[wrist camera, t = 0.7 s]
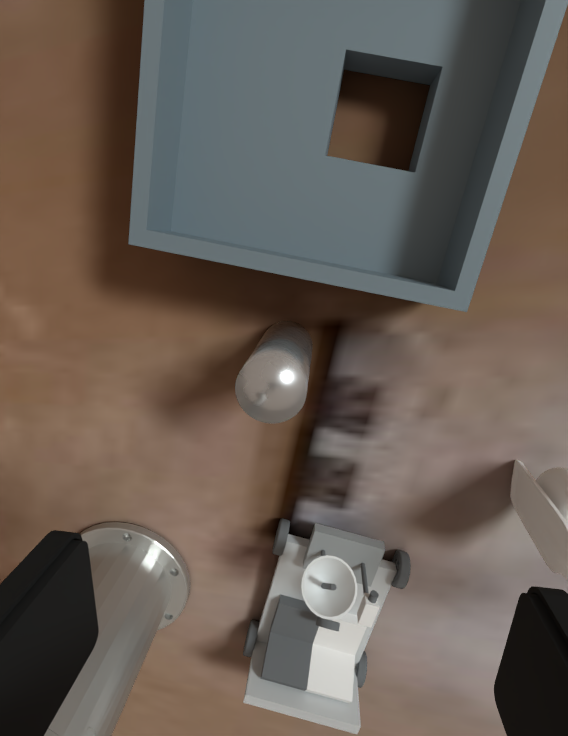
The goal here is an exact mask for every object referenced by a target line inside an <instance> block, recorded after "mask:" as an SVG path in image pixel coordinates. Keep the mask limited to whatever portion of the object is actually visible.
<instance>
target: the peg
mask: <svg viewBox="0 0 568 736" xmlns="http://www.w3.org/2000/svg"><path fill="white" fill-rule="evenodd" d="M311 355H312V340H311V337H310V335H309V333H308V332H307V330H306V329H305V328H304V327H303V326H301V325H300V324H298V323H295V322H292V321H281V322H278V323H275V324H274V325H272V326H271V327H269V328H268V329H267V331H266V332H265V334H264V335H263V337H262V338H261V340H260V341H259V343H258V344H257V346H256V347H255V349H254V351H253V352H252V354H251V355H250V357H249V358H248V360H247V361H246V363H245V364H244V366H243V367H242V369H241V370H240V372H239V374H238V376H237V379H236V383H235V393H236V397H237V400H238V402H239V404H240V406H241V408H242V409H243V410H244V411H245V412H246V413H247V414H248V415H249V416H251V417H252V418H254V419H256V420H258V421H261V422H264V423H280V422H284V421H287V420H289V419H291V418H292V417H294V416H295V415H296V414H297V413H298V412H299V411H300V410H301V408H302V407H303V405H304V402H305V399H306V394H307V386H308V378H309V370H310V363H311Z"/></svg>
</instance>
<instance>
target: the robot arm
mask: <svg viewBox="0 0 568 736" xmlns="http://www.w3.org/2000/svg"><path fill="white" fill-rule="evenodd" d="M189 591H190V577H189V573H188V570H187V567H186V565H185V563H184V561H183V559H182V557H181V556H180V555H179V553H178V552H177V551H176V550H175V548H174V547H173V546H172V545H171V544H169V543H168V542H167V541H166V540H165V539H164V538H162V537H161V536H159V535H157V534H156V533H154V532H153V531H150V530H148V529H146V528H143V527H141V526H137V525H134V524H130V523H122V522H108V523H102V524H98V525H94V526H92V527H90V528H88V529H86V530H84V531H83V532H81V533H80V534H79V533H72V532H64V531H55V530H54V531H51V532H50V533H48V534H47V535H46V536H45V537H44V538H43V539H42V540H41V542H40V543H39V544H38V545H37V546H36V547H35V548H34V549H33V550H32V551H31V552H30V553H29V554H28V555H27V556H26V557H25V559H24V560H23V561H22V562H21V563H20V564H19V565H18V566H17V567H16V568H15V569H14V570H13V571H12V572H11V573H10V574H9V576H8V577H7V578H6V579H5V580H4V581H3V582H2V583H1V584H0V736H112V733H113V731H114V729H115V726H116V724H117V722H118V719H119V717H120V715H121V712H122V710H123V708H124V706H125V703H126V701H127V699H128V696H129V694H130V692H131V689H132V687H133V685H134V682H135V680H136V678H137V675H138V673H139V671H140V669H141V666H142V664H143V662H144V659H145V657H146V655H147V652H148V650H149V648H150V645H151V643H152V641H153V638H154V636H155V634H156V632H157V630H159V629H162V628H164V627H166V626H168V625H169V624H171V623H172V622H174V621H175V620H176V619H177V618H178V617H179V616H180V614H181V612H182V611H183V609H184V607H185V605H186V602H187V599H188V597H189ZM494 695H495V701H496V705H497V708H498V711H499V714H500V717H501V720H502V723H503V725H504V728H505V731H506V734H507V736H568V594H567V593H566V592H565V591H563V590H560V589H551V588H543V587H531V588H529V590H528V592H527V593H522V594H521V595H520V597H519V600H518V604H517V607H516V611H515V614H514V618H513V621H512V625H511V628H510V632H509V635H508V638H507V642H506V645H505V649H504V652H503V656H502V659H501V663H500V666H499V670H498V673H497V677H496V680H495V684H494Z"/></svg>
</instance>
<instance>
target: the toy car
mask: <svg viewBox="0 0 568 736" xmlns="http://www.w3.org/2000/svg"><path fill="white" fill-rule="evenodd" d="M289 527H290V521H289V520H286V519H280V522H279V526H278V529H277V532H276V536H275V541H274V545H273V554H275V555H279V559H278V562H277V566H276V569H275V572H274V576H273V579H272V582H271V586H270V589H269V592H268V596H267V599H266V602H265V606H264V609H263V612H262V616H261V619H260V622H258V621H255V620H251V622H250V625H249V629H248V632H247V637H246V641H245V646H244V651H243V655H244V656H247V657H251V662H250V668H249V673H248V679H247V684H246V690H245V696H244V701H243V703H247V704H250V705H254V706H257V707H261V708H265V709H268V710H272V711H275V712H279V713H282V714H286V715H290V716H293V717H297V718H300V719H304V720H307V721H311V722H315V723H318V724H322V725H325V726H329V727H332V728H336V729H340V730H343V731H347V732H350V733H354V734H358V731H359V729H360V727H361V725H360V711H359V697H358V687H359V688H361V687H362V686H363V684H364V682H365V678H366V672H367V656H366V653H365V651H364V649H365V647H366V644H367V642H368V639H369V637H370V635H371V632H372V630H373V627H374V625H375V623H376V620H377V618H378V615H379V613H380V611H381V608H382V606H383V603H384V601H385V599H386V596H387V594H388V591H389V589H390V587H391V585H392V586H393V587H396V588H400V589H403V588H404V587H405V586H406V585H407V582H408V579H409V575H410V557H409V555H408V553H407V552H404V551H400V550H397V551H396V552H395V554H394V557H393V559H392V562H390V561H386V560H382V557H383V555H384V552H385V546H384V541H380V540H376V539H372V538H369V537H365V536H361V535H358V534H354V533H350V532H347V531H343V530H339V529H335V528H332V527H328V526H324V525H321V524H317V523H315V525H314V528H313V531H312V534H311V537H310V540H309V539H305V538H301V537H298V536H294V535H290V534H288V533H289Z"/></svg>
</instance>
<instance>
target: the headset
mask: <svg viewBox="0 0 568 736" xmlns="http://www.w3.org/2000/svg"><path fill="white" fill-rule="evenodd" d="M510 498H511V501H512V504H513V506H514V508H515V510H516V512H517V513H518V515H519V517H520V519H521V521H522V522H523V524H524V526H525V528H526V529H527V531H528V533H529V535H530V536H531V538H532V540H533V542H534V544H535V545H536V547H537V549H538V551H539V552H540V554H541V556H542V558H543V559H544V561H545V562H546V564H547V566H548V567H549V568H550V570H551V571H552V572H554V573H559V574H562V575H563V576H564V577H565V578H566V579H567V580H568V469H567V468H552V469H549V470H547V471H545V472H544V473H542V474H541V475H540V476H539V477H538V479H537V480H535V479H534V477H533V476H532V475H531V473H530V472H529V471H528V470H527V468H526V467H525V466H524V465H523V463H522V462H521V461H519V460H515V462H514V468H513V475H512V481H511V493H510Z"/></svg>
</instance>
